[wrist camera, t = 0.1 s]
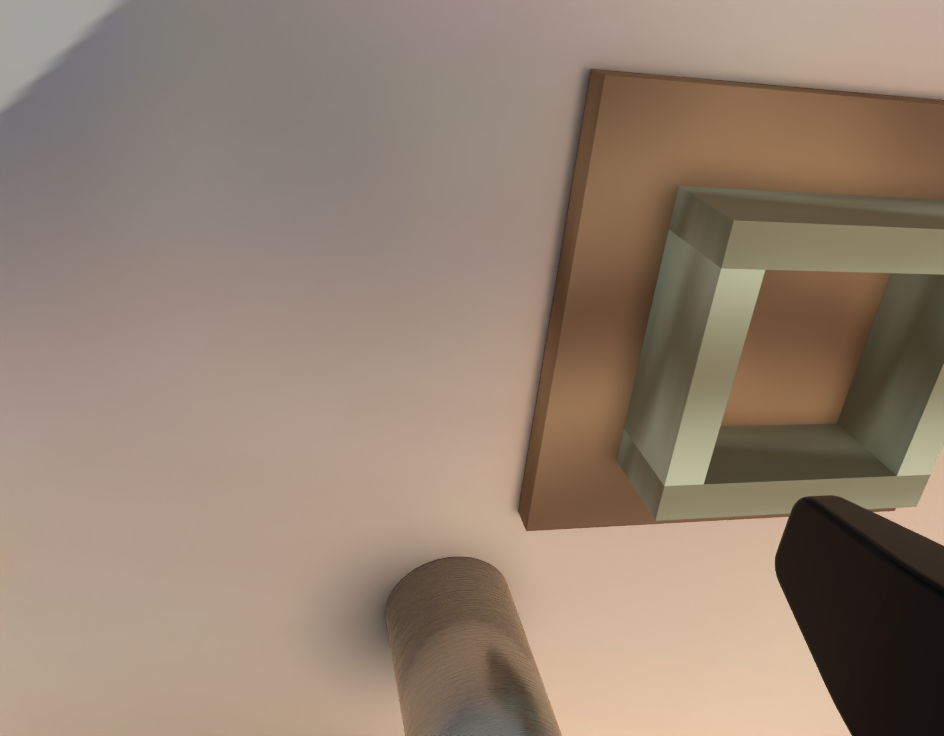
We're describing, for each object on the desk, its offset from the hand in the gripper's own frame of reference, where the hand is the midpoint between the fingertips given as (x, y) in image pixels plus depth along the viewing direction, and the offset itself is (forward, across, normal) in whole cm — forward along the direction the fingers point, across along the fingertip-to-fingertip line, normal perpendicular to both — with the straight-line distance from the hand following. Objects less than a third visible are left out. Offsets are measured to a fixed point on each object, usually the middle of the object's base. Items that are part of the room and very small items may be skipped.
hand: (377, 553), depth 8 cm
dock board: (+15, -14, +4) cm, 21 cm away
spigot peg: (+15, -5, +15) cm, 22 cm away
